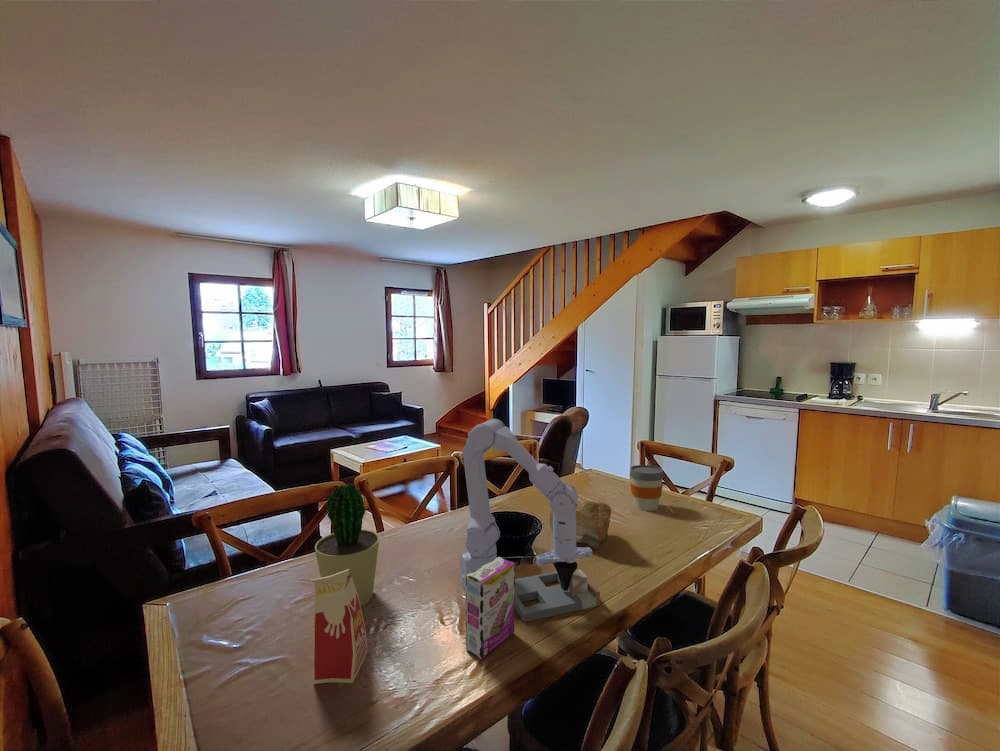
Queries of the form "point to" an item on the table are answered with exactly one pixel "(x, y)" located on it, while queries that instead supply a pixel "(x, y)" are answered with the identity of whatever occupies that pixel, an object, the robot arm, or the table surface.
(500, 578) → the candy bar box
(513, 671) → the table surface
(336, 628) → the milk carton
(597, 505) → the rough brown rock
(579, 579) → the block
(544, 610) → the board
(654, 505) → the reusable coffee cup
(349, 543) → the potted cactus
